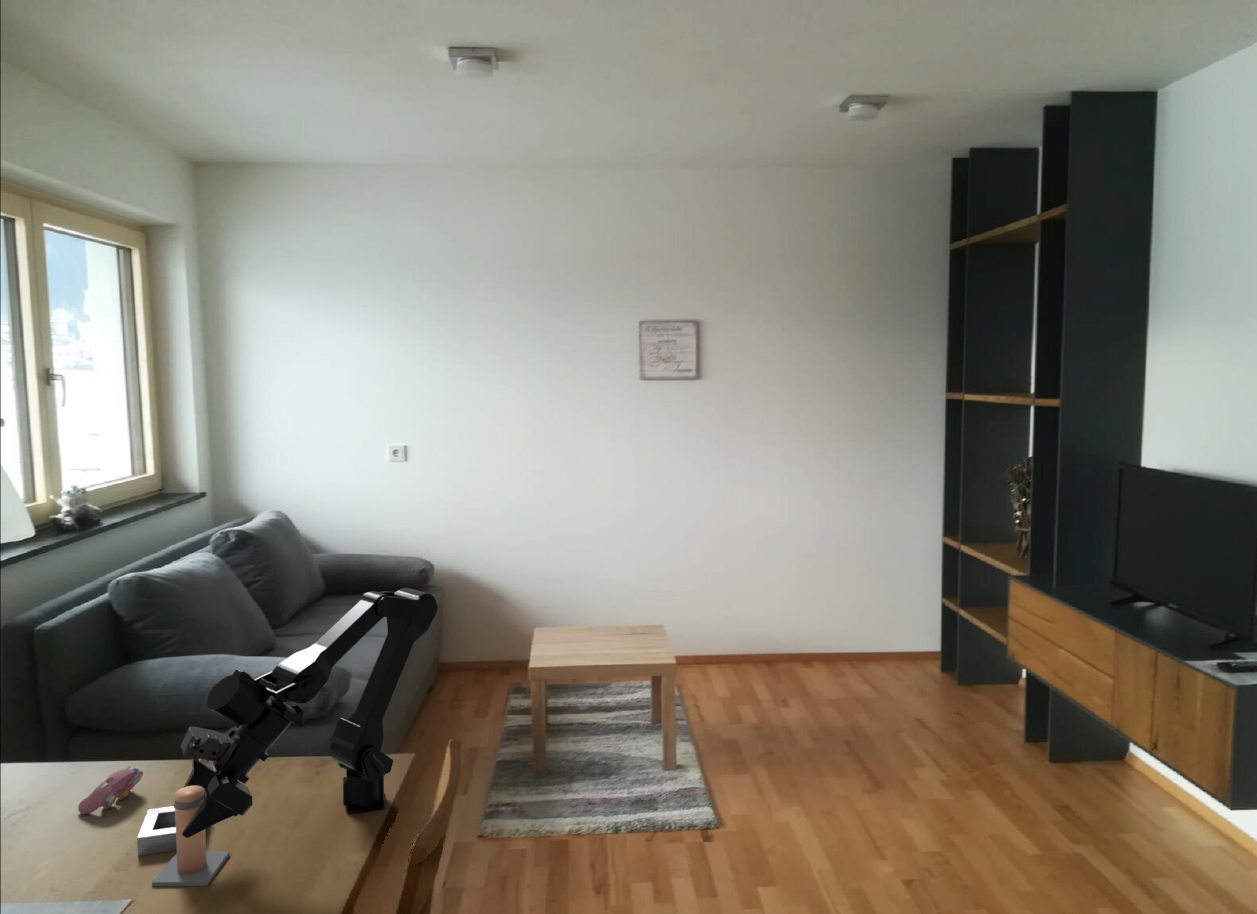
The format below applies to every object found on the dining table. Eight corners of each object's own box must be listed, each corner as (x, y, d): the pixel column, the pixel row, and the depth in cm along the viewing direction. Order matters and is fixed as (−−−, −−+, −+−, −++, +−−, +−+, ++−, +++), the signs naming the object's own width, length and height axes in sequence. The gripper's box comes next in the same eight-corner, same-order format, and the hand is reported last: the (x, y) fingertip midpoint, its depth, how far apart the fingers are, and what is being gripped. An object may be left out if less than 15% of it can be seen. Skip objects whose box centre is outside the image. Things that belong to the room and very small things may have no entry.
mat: (177, 854, 136) (177, 851, 136) (229, 854, 136) (229, 851, 136) (151, 885, 128) (151, 882, 128) (206, 885, 128) (206, 882, 128)
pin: (208, 856, 135) (205, 783, 133) (204, 871, 131) (202, 796, 129) (179, 861, 133) (176, 787, 132) (175, 875, 129) (172, 800, 128)
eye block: (208, 818, 147) (207, 801, 146) (201, 846, 138) (200, 828, 138) (148, 826, 144) (148, 809, 143) (137, 856, 135) (137, 838, 135)
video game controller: (94, 826, 146) (109, 793, 145) (73, 812, 147) (87, 779, 146) (138, 797, 156) (151, 766, 155) (118, 784, 156) (131, 753, 155)
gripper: (205, 688, 139) (129, 770, 134) (226, 730, 124) (141, 825, 119) (258, 724, 144) (187, 804, 139) (284, 769, 129) (206, 861, 124)
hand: (180, 821), depth 130 cm, fingers open, 9 cm apart
